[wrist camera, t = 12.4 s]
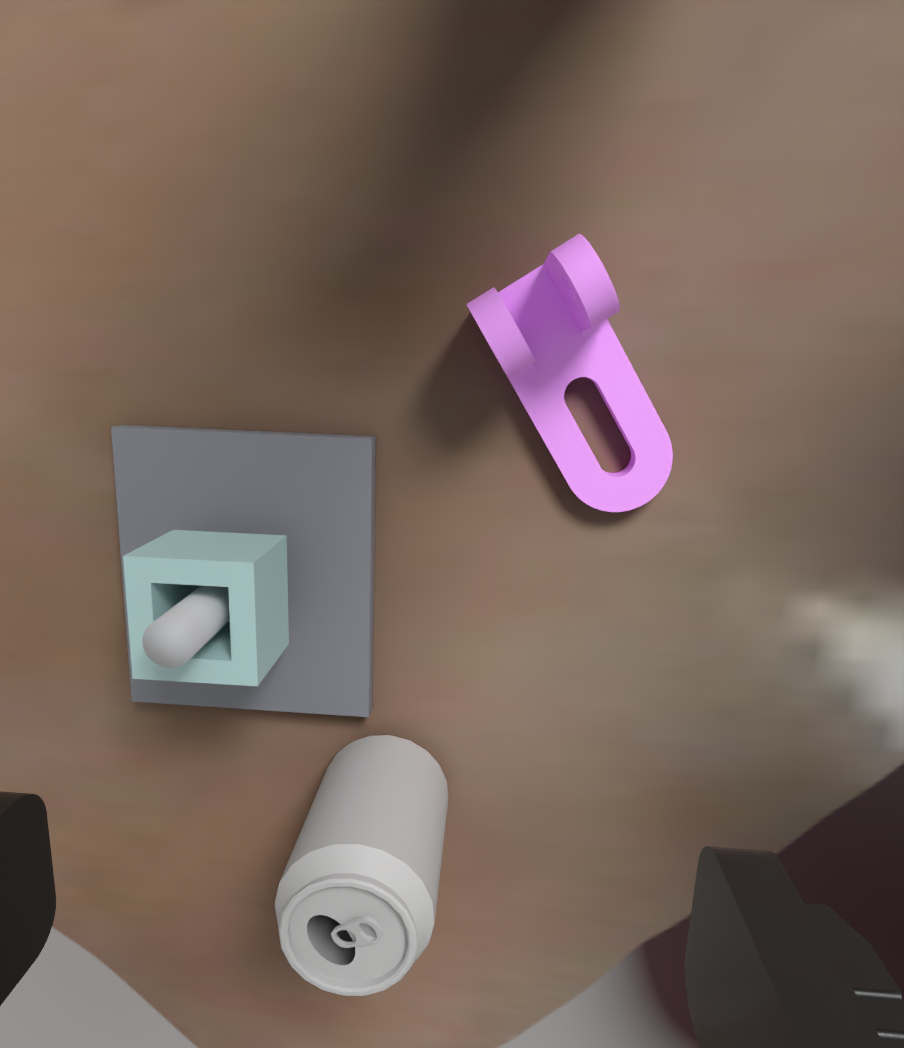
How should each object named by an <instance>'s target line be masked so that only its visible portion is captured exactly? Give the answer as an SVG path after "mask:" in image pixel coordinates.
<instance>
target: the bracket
mask: <svg viewBox="0 0 904 1048" xmlns="http://www.w3.org/2000/svg"><path fill="white" fill-rule="evenodd" d="M466 305H467V306H468V308H469V310H470V312H471V314H472V315H473V317H474V319H475V321H476V322H477V324H478V326H479V328H480V329H481V331H482V333H483V335H484V337H485V338H486V340H487V342H488V344H489V345H490V347H491V349H492V351H493V352H494V354H495V356H496V358H497V360H498V361H499V363H500V365H501V367H502V368H503V370H504V372H505V374H506V375H507V377H508V379H509V381H510V382H511V384H512V386H513V388H514V389H515V391H516V393H517V395H518V396H519V398H520V400H521V402H522V404H523V405H524V407H525V409H526V411H527V412H528V414H529V416H530V418H531V419H532V421H533V423H534V425H535V426H536V428H537V430H538V432H539V434H540V435H541V437H542V439H543V441H544V442H545V444H546V446H547V448H548V449H549V451H550V453H551V455H552V457H553V458H554V460H555V462H556V464H557V465H558V467H559V469H560V471H561V472H562V474H563V476H564V478H565V479H566V481H567V483H568V485H569V486H570V488H571V490H572V491H573V492H574V494H575V495H576V496H577V497H578V498H579V499H580V500H582V501H583V502H584V503H586V504H587V505H589V506H591V507H593V508H596V509H598V510H602V511H607V512H623V511H629V510H632V509H635V508H637V507H640V506H642V505H644V504H645V503H647V502H648V501H650V500H651V499H652V498H653V497H655V496H656V494H657V493H658V492H659V491H660V490H661V489H662V487H663V486H664V484H665V483H666V481H667V479H668V476H669V474H670V471H671V467H672V460H673V452H672V445H671V441H670V438H669V435H668V433H667V431H666V429H665V427H664V425H663V424H662V422H661V420H660V418H659V416H658V414H657V412H656V410H655V409H654V407H653V405H652V403H651V401H650V399H649V397H648V395H647V393H646V392H645V390H644V388H643V386H642V384H641V382H640V380H639V378H638V377H637V375H636V373H635V371H634V369H633V367H632V365H631V363H630V361H629V360H628V358H627V356H626V354H625V352H624V350H623V348H622V346H621V344H620V343H619V341H618V339H617V337H616V335H615V333H614V331H613V329H612V328H611V326H610V324H609V321H608V318H609V317H611V316H612V315H614V314H616V313H617V312H619V311H620V306H619V301H618V298H617V295H616V292H615V289H614V287H613V284H612V282H611V280H610V278H609V276H608V274H607V272H606V270H605V268H604V266H603V264H602V262H601V260H600V259H599V257H598V255H597V254H596V252H595V251H594V249H593V248H592V246H591V245H590V243H589V242H588V241H587V240H586V238H585V237H584V236H582V235H581V234H578V235H576V236H575V237H573V238H571V239H570V240H568V241H567V242H565V243H563V244H562V245H560V246H559V247H557V248H555V249H554V250H552V251H551V252H549V254H548V256H547V258H546V260H545V263H544V264H543V265H541V266H540V267H538V268H536V269H535V270H533V271H532V272H530V273H528V274H527V275H525V276H524V277H522V278H520V279H519V280H517V281H516V282H514V283H512V284H511V285H509V286H508V287H506V288H504V289H503V290H501V291H500V292H497V291H496V289H495V288H494V287H493V288H492V289H490V290H488V291H487V292H485V293H484V294H482V295H480V296H479V297H477V298H476V299H474V300H472V301H471V302H469V303H468V304H466ZM579 377H587V378H589V379H590V380H592V381H593V382H594V384H595V385H596V387H597V389H598V391H599V393H600V394H601V396H602V398H603V400H604V402H605V404H606V405H607V407H608V409H609V411H610V413H611V415H612V416H613V418H614V420H615V422H616V424H617V426H618V427H619V429H620V431H621V433H622V435H623V437H624V439H625V440H626V442H627V444H628V446H629V448H630V450H631V459H630V462H629V464H628V466H627V467H626V468H625V469H624V470H622V471H620V472H617V473H608V472H605V471H603V470H602V469H601V467H600V465H599V463H598V462H597V460H596V458H595V456H594V454H593V453H592V451H591V449H590V447H589V445H588V444H587V442H586V440H585V438H584V436H583V435H582V433H581V431H580V429H579V427H578V426H577V424H576V422H575V420H574V418H573V417H572V415H571V413H570V411H569V409H568V408H567V406H566V404H565V401H564V392H565V389H566V387H567V385H568V384H569V383H570V382H571V381H572V380H574V379H576V378H579Z"/></svg>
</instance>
